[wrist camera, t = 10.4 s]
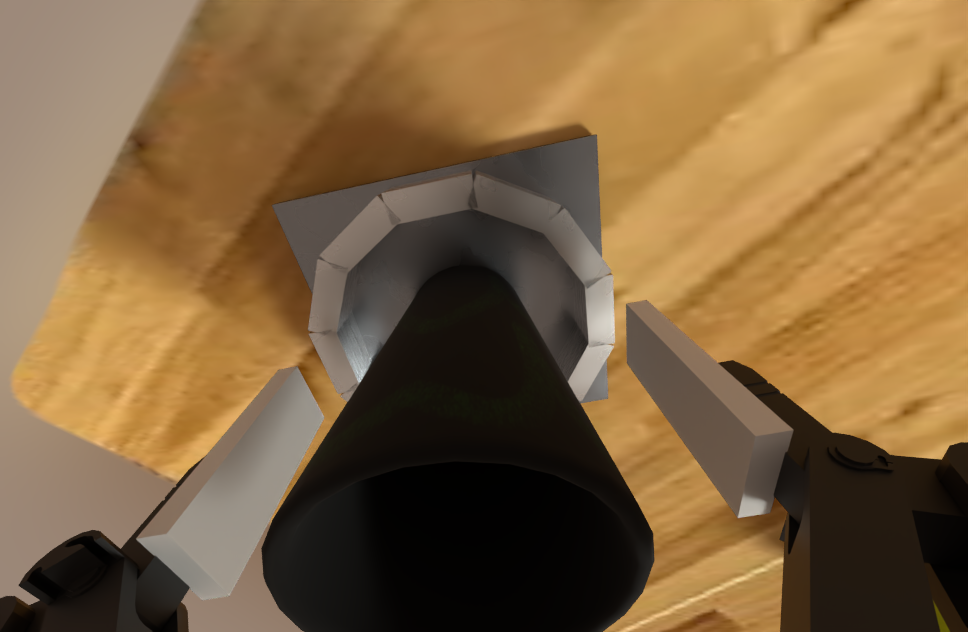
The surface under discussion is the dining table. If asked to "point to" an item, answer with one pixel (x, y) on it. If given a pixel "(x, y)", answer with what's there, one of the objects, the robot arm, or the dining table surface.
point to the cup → (460, 487)
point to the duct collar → (461, 254)
